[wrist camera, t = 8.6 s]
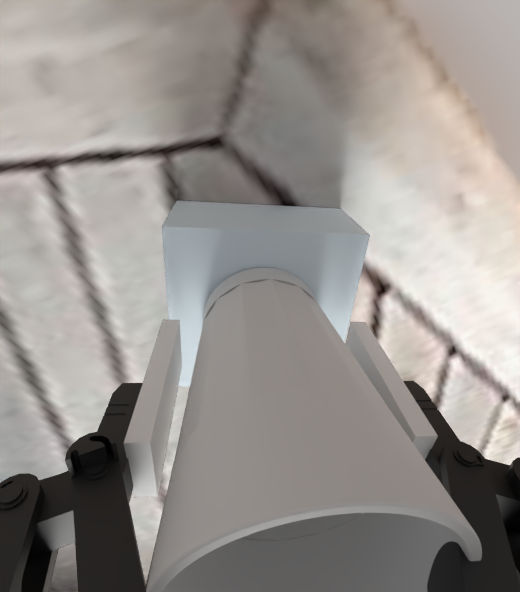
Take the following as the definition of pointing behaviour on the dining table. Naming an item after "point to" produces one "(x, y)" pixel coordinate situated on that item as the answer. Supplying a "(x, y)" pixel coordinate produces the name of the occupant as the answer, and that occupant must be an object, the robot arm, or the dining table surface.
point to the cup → (294, 461)
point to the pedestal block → (257, 258)
